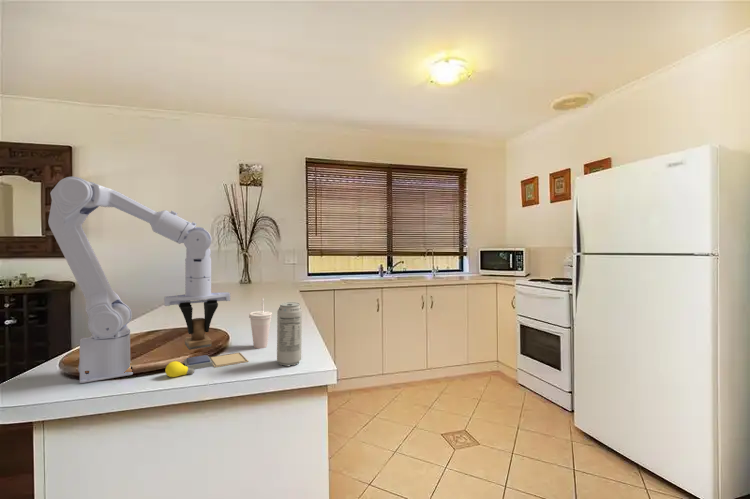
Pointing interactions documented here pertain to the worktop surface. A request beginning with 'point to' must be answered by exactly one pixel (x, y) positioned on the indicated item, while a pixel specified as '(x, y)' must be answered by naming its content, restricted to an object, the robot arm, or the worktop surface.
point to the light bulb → (177, 369)
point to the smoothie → (260, 327)
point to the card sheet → (228, 359)
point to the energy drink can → (289, 333)
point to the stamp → (198, 335)
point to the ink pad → (198, 362)
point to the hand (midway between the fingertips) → (198, 332)
